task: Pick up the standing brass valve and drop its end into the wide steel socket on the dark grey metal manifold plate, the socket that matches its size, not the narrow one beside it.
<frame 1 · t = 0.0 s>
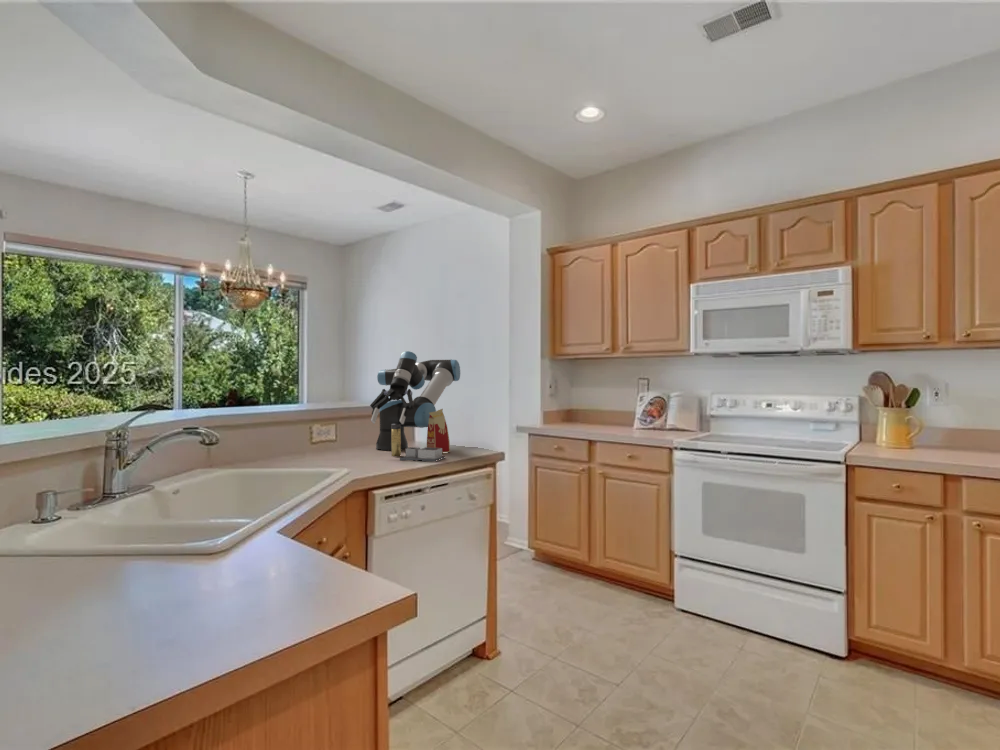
hand: (386, 422, 219), 15 cm above the counter, tool tilted 35°, fingers open, 13 cm apart
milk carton: (437, 453, 236), on the counter
manifold plate: (422, 459, 216), on the counter
brass valve: (396, 456, 225), on the counter
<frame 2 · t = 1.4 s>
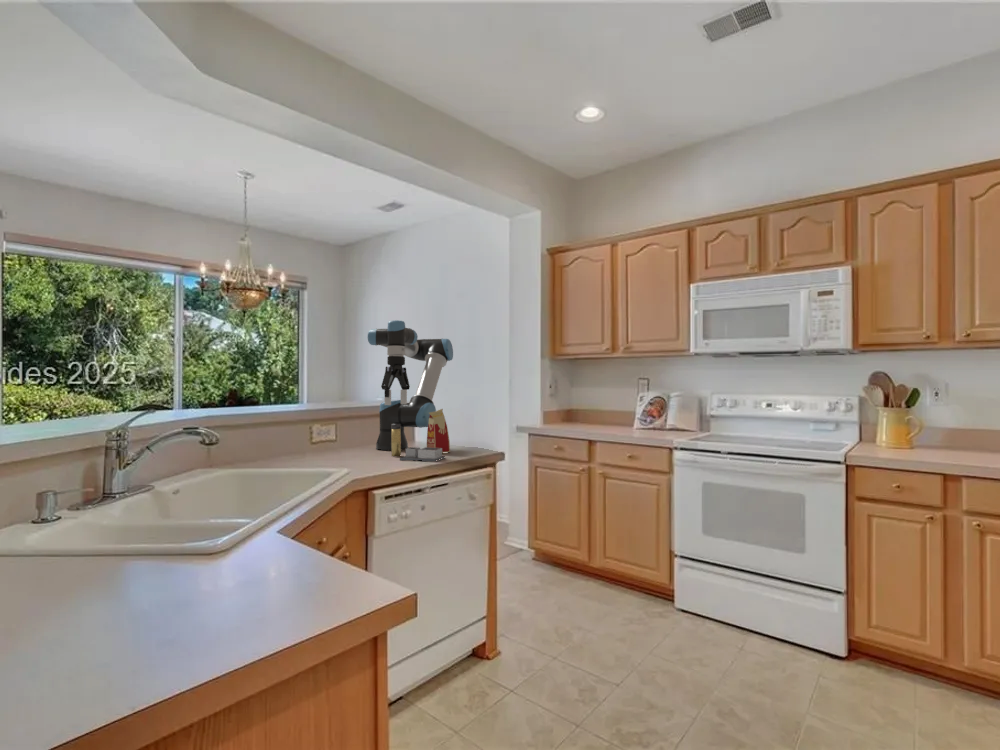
hand: (395, 404, 225), 22 cm above the counter, tool pointing down, fingers open, 13 cm apart
nothing on the counter moved.
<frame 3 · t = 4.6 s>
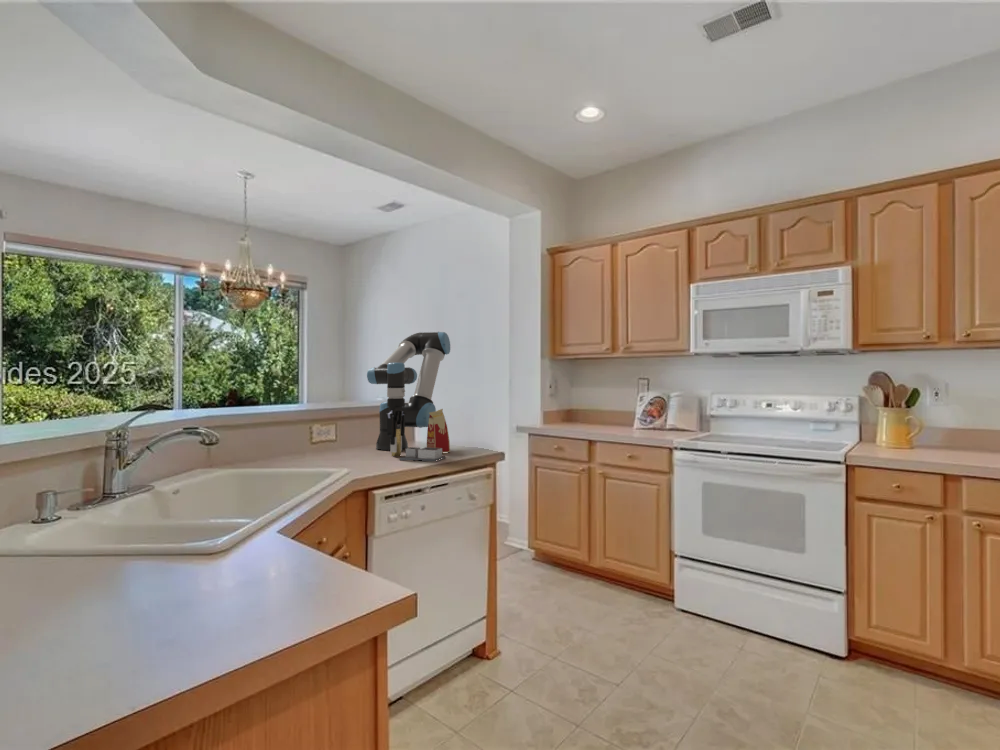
hand: (396, 451, 225), 2 cm above the counter, tool pointing down, fingers closed on brass valve, 4 cm apart
brass valve: (396, 456, 225), on the counter, touching gripper
everything else where it was.
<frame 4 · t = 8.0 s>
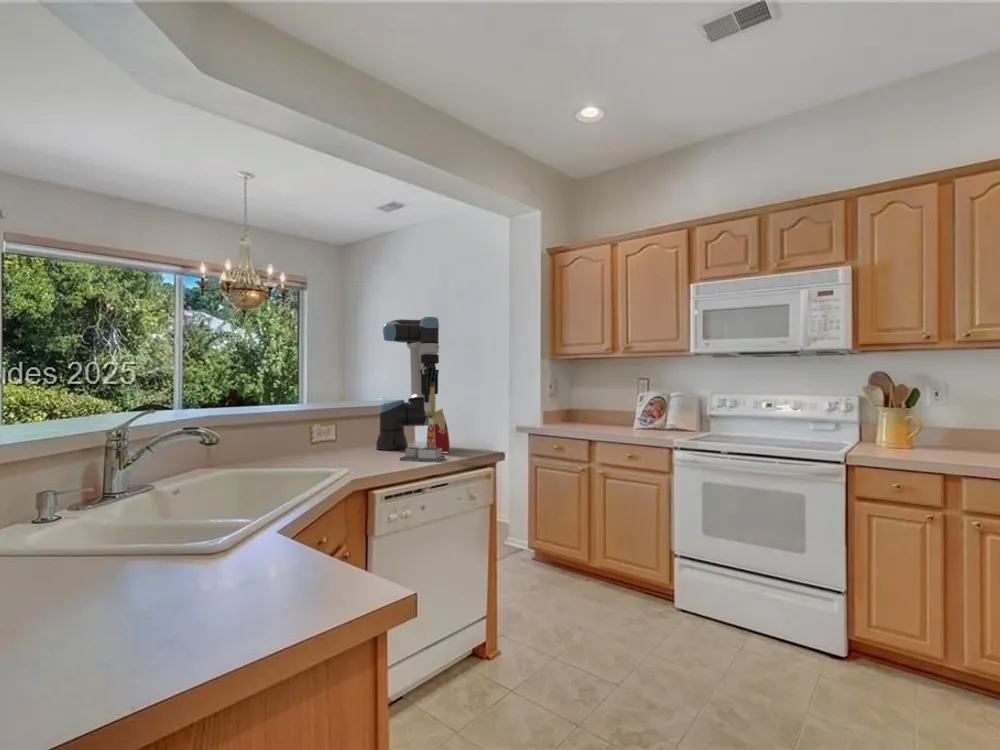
hand: (429, 410, 215), 21 cm above the counter, tool pointing down, fingers closed on brass valve, 4 cm apart
brass valve: (429, 415, 215), point 18 cm above the counter, touching gripper
everything else where it was.
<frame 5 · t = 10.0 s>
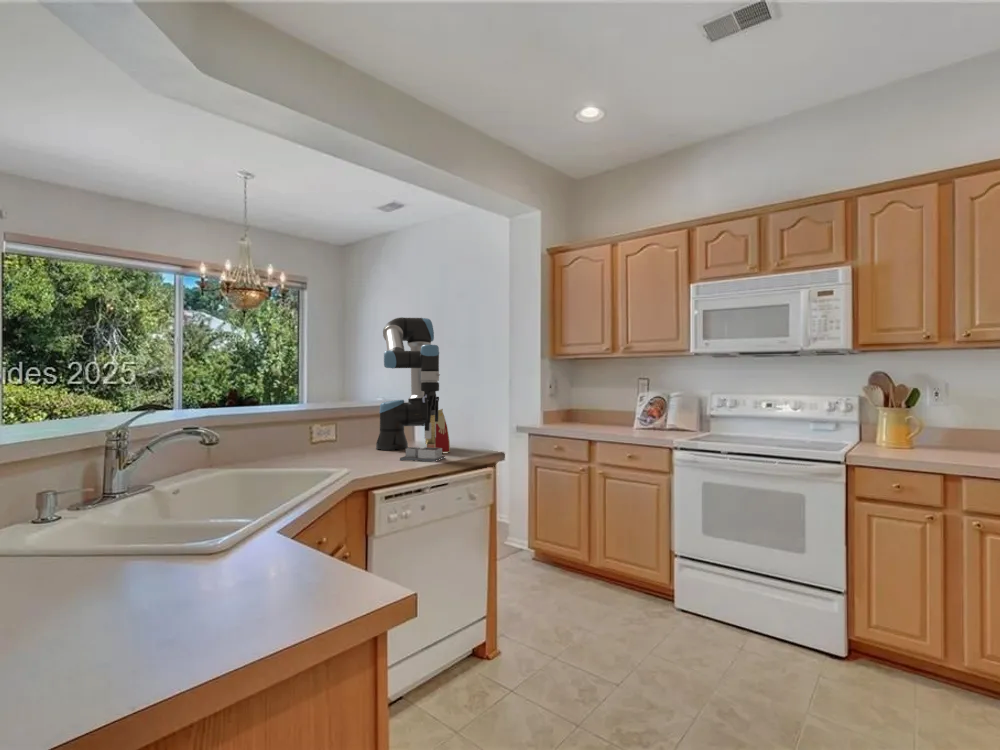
hand: (430, 437, 215), 9 cm above the counter, tool pointing down, fingers closed on brass valve, 4 cm apart
brass valve: (430, 443, 215), point 7 cm above the counter, touching gripper
everything else where it was.
when the fingers open (5 cm above the counter, at t = 11.8 s): brass valve stays where it is, resting on manifold plate.
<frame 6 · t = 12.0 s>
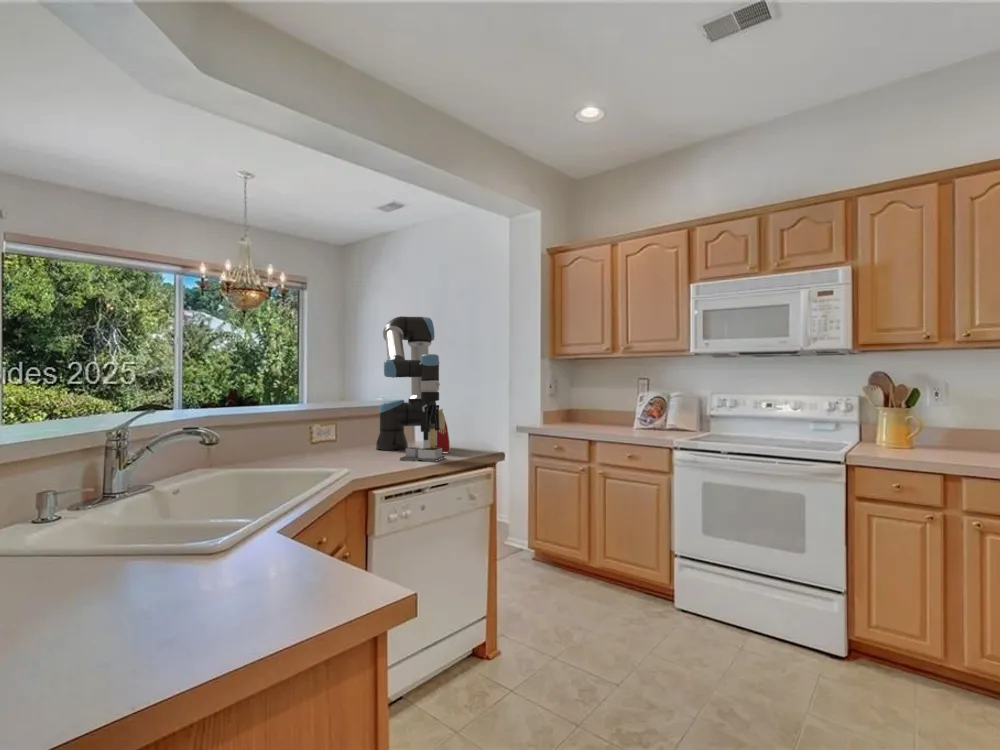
hand: (430, 446, 215), 5 cm above the counter, tool pointing down, fingers open, 6 cm apart
brass valve: (430, 457, 215), point 1 cm above the counter, touching manifold plate
everything else where it was.
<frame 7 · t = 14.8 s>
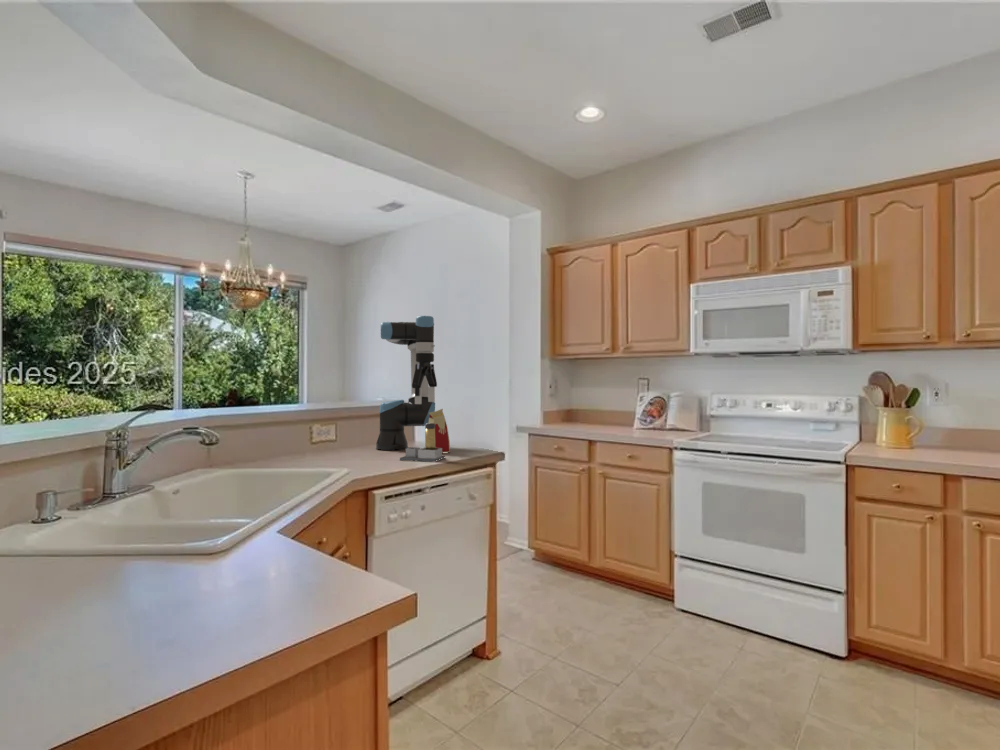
hand: (425, 403, 218), 23 cm above the counter, tool pointing down, fingers open, 13 cm apart
nothing on the counter moved.
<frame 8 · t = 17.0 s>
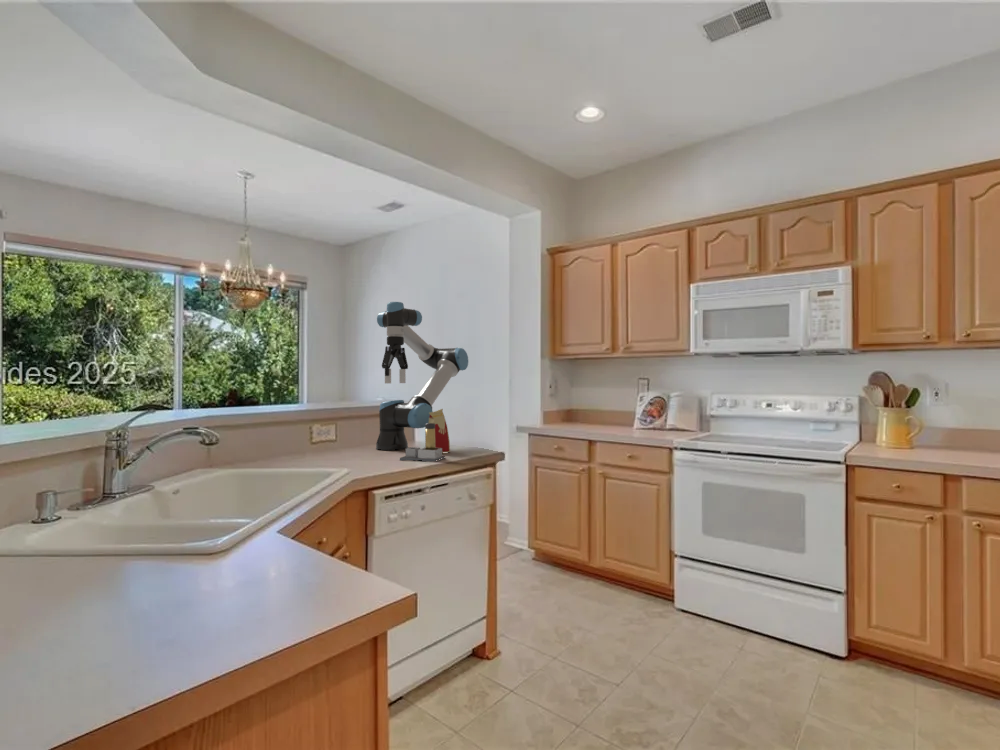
hand: (395, 383, 233), 32 cm above the counter, tool pointing down, fingers open, 13 cm apart
nothing on the counter moved.
at the end: brass valve 0.1 cm from the target spot on the manifold plate, point 1.0 cm above the manifold plate's base; brass valve tilted 0°; the gripper is holding nothing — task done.
